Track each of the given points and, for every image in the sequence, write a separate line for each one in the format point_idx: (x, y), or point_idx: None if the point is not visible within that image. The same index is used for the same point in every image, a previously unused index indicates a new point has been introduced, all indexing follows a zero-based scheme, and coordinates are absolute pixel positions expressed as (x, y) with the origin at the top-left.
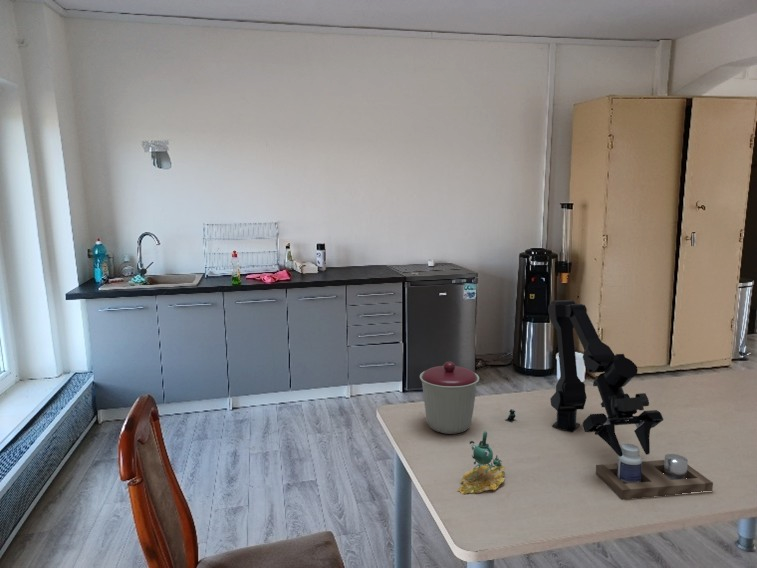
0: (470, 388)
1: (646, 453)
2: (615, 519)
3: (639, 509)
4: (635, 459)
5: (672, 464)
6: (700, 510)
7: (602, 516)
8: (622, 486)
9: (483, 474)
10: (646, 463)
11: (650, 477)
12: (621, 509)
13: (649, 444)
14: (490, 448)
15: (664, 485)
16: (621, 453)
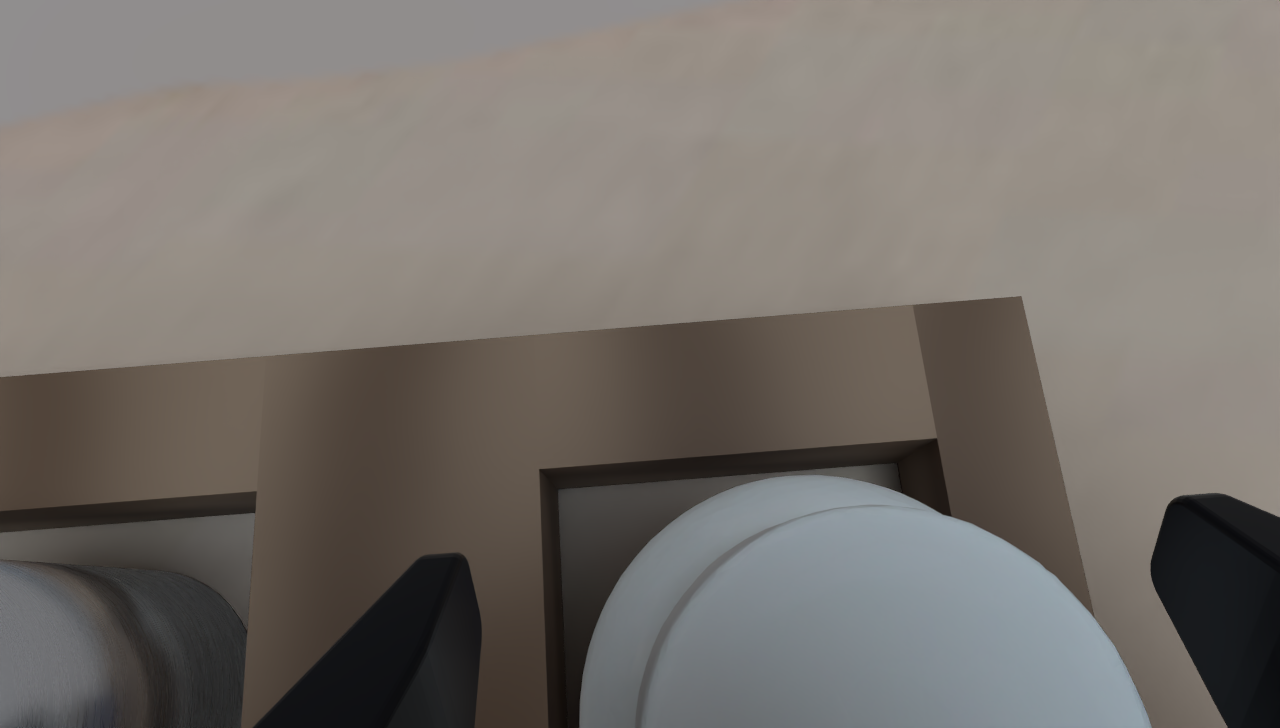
0: None
1: (476, 618)
2: (1150, 43)
3: (858, 174)
4: (796, 517)
5: (31, 617)
6: (287, 137)
7: (1262, 87)
8: (991, 372)
9: None
10: None
11: (493, 580)
12: (1038, 181)
13: (269, 713)
14: None
15: (434, 366)
16: (1228, 508)
